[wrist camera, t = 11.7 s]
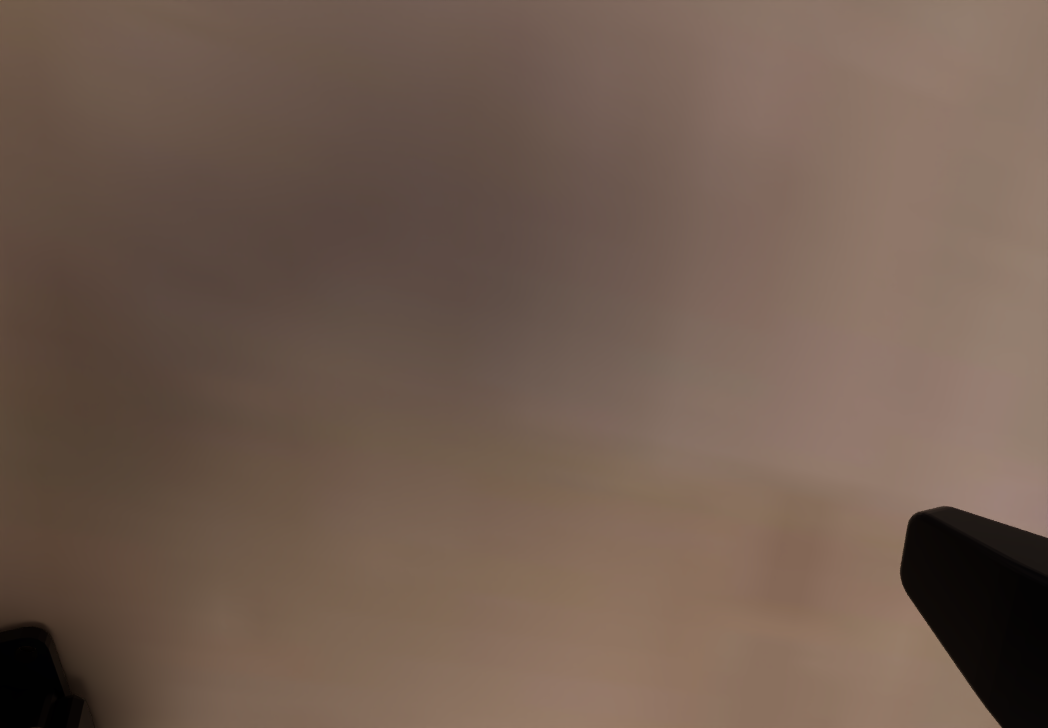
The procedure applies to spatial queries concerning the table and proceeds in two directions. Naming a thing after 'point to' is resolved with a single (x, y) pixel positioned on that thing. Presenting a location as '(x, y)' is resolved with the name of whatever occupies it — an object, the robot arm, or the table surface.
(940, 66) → the table surface
